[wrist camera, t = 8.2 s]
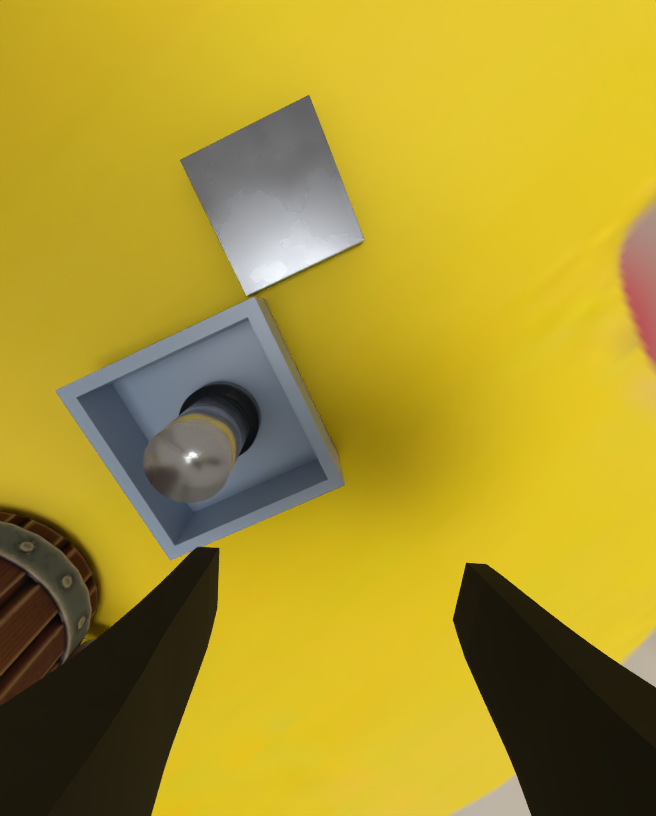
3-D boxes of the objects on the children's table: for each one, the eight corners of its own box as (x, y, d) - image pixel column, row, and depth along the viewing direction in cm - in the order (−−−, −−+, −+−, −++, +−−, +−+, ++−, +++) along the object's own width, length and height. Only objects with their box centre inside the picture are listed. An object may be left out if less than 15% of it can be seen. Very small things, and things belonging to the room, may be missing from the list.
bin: (101, 375, 18) (55, 390, 15) (264, 299, 18) (254, 296, 15) (192, 519, 21) (170, 560, 17) (338, 455, 20) (344, 484, 17)
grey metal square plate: (187, 168, 16) (179, 159, 15) (308, 107, 16) (309, 94, 15) (249, 296, 18) (246, 295, 17) (361, 243, 17) (364, 239, 17)
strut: (182, 445, 19) (128, 504, 13) (190, 374, 18) (134, 405, 12) (255, 456, 19) (233, 519, 14) (266, 388, 18) (247, 424, 13)
